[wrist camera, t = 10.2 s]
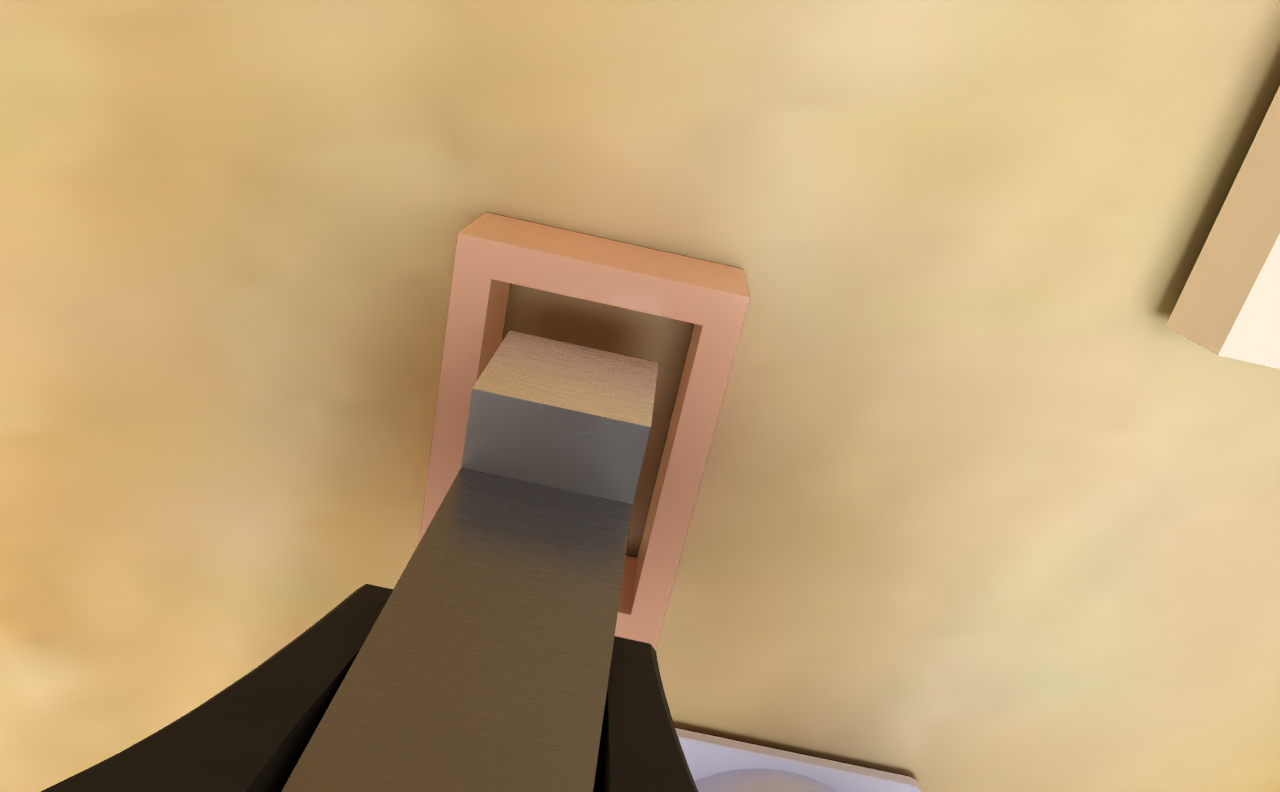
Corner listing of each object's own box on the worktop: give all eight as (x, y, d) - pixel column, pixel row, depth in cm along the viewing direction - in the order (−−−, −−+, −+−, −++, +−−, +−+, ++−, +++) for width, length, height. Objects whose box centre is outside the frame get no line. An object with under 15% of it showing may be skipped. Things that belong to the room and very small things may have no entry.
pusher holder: (743, 268, 19) (750, 297, 17) (660, 588, 23) (656, 647, 20) (486, 212, 19) (458, 232, 17) (441, 542, 23) (412, 596, 20)
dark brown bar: (658, 362, 16) (610, 768, 7) (601, 604, 19) (511, 1141, 10) (509, 329, 16) (270, 698, 7) (472, 576, 19) (255, 1090, 10)
